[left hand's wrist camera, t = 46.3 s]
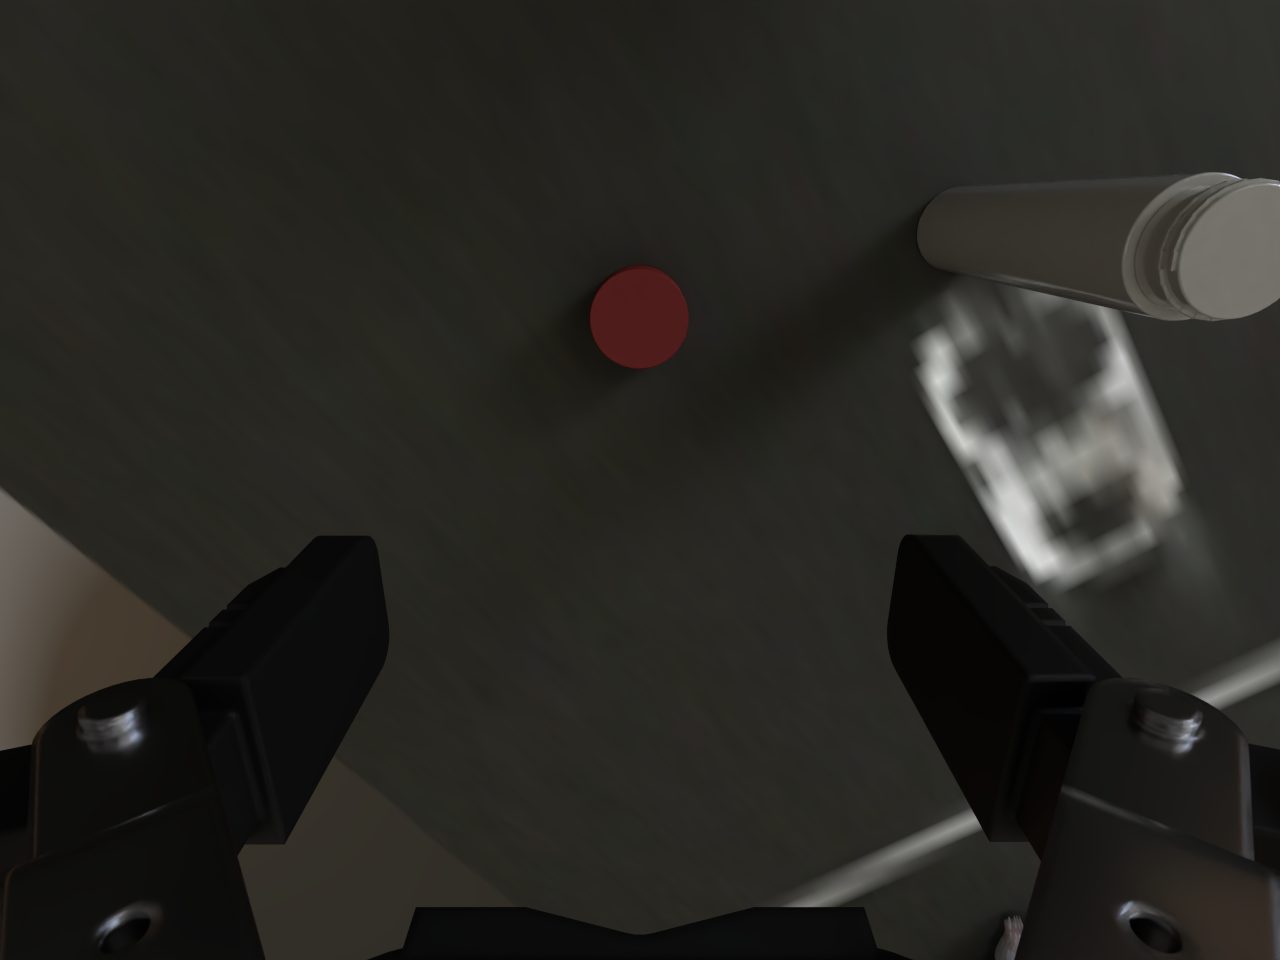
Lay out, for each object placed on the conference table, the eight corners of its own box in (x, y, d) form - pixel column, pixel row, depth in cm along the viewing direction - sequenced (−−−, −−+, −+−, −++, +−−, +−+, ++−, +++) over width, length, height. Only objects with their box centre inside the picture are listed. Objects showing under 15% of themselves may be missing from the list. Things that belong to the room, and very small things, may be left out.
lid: (631, 378, 40) (631, 388, 38) (572, 306, 39) (569, 312, 37) (704, 321, 39) (708, 328, 37) (646, 244, 38) (647, 247, 36)
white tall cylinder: (1001, 180, 37) (1345, 159, 19) (996, 266, 38) (1309, 322, 20) (917, 191, 37) (1178, 179, 19) (915, 276, 38) (1155, 339, 20)
